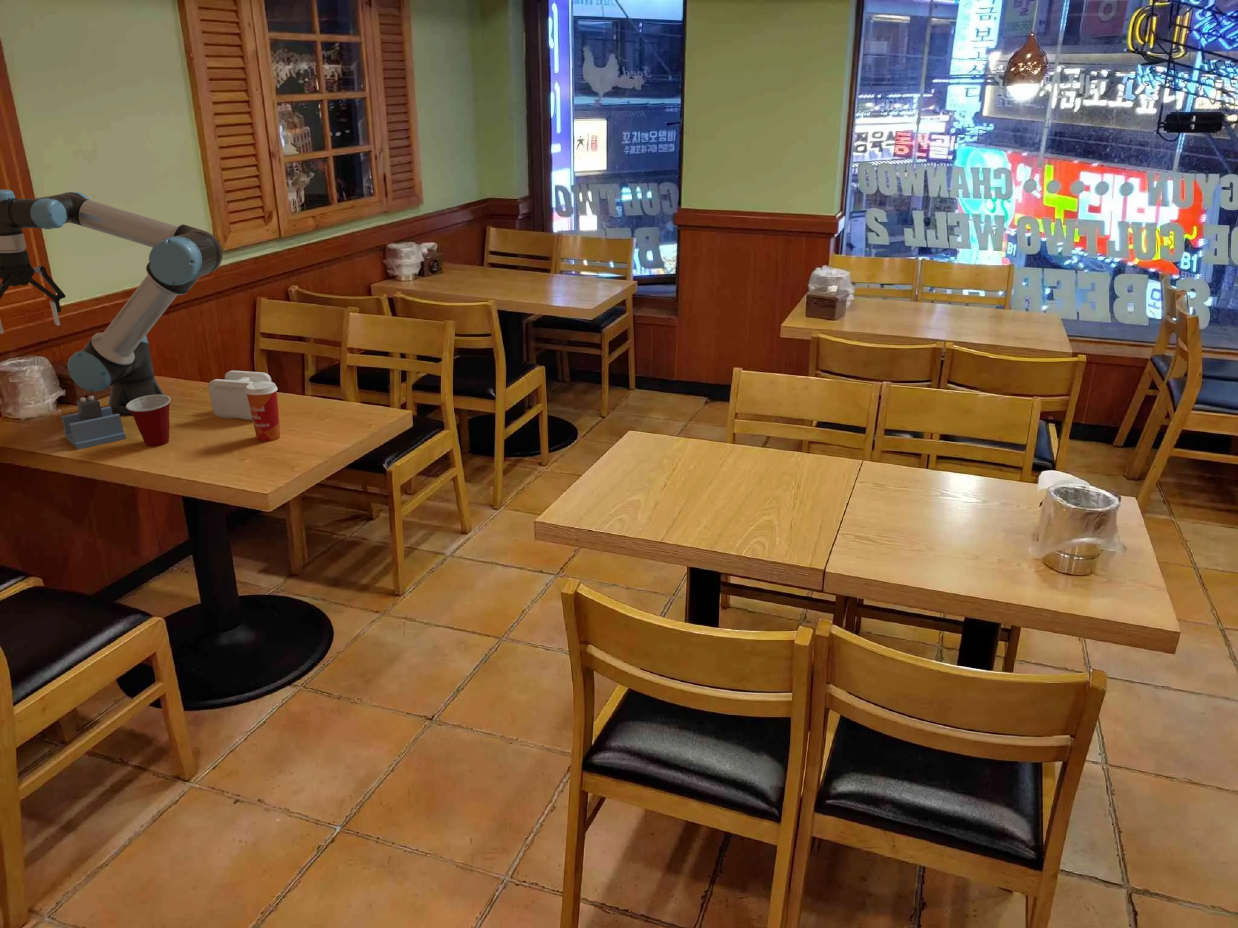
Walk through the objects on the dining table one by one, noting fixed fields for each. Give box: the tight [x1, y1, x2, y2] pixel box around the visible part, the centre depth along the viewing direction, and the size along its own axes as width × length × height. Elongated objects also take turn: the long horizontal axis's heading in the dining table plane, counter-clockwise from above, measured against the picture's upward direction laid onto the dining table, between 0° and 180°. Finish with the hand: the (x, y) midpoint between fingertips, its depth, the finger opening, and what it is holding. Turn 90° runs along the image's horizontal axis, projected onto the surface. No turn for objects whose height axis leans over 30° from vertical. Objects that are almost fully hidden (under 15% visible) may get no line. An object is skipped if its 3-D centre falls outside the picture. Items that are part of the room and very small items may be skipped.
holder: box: [61, 405, 127, 450], centre depth 249 cm, size 12×12×6 cm
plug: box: [76, 395, 103, 421], centre depth 248 cm, size 4×4×10 cm
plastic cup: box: [126, 394, 172, 448], centre depth 245 cm, size 11×11×12 cm
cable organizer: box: [208, 370, 272, 421], centre depth 266 cm, size 15×11×12 cm
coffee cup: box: [245, 381, 281, 442], centre depth 248 cm, size 8×8×15 cm
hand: (29, 328), depth 253 cm, fingers open, 13 cm apart
